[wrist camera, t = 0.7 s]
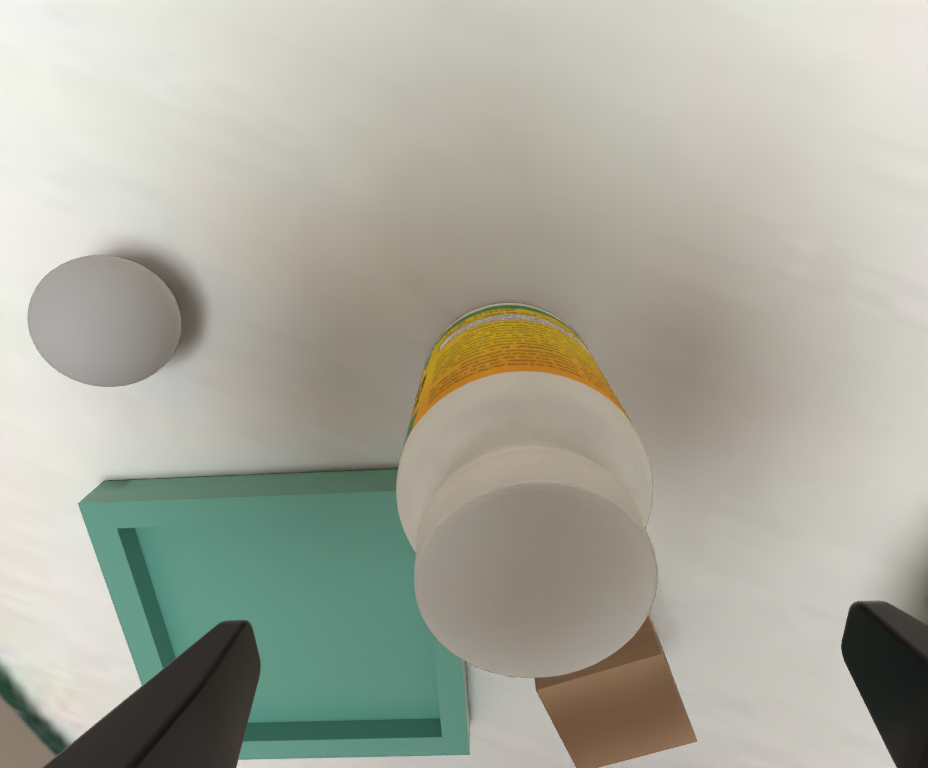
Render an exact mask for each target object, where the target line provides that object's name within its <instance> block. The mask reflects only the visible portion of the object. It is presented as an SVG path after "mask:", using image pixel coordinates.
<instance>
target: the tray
mask: <svg viewBox="0 0 928 768" xmlns="http://www.w3.org/2000/svg"><path fill="white" fill-rule="evenodd" d="M397 473H398V469H382V470H358V471H334V472H309V473H285V474H261V475H236V476H212V477H188V478H163V479H139V480H114V481H103V482H102V483H101V484H100V485H99V486H98V487H97V488H95V489H94V490H93V491H92V492H91V493H90V494H88V495H87V496H86V497H85V498H84V499H83V500H82V501H80V502H79V503H78V505H79V508H80V510H81V513H82V516H83V519H84V522H85V525H86V528H87V530H88V533H89V536H90V539H91V542H92V545H93V547H94V550H95V553H96V556H97V559H98V562H99V564H100V567H101V570H102V573H103V576H104V579H105V581H106V584H107V587H108V590H109V593H110V596H111V599H112V601H113V604H114V607H115V610H116V613H117V616H118V618H119V621H120V624H121V627H122V630H123V633H124V635H125V638H126V641H127V644H128V647H129V650H130V653H131V655H132V658H133V661H134V664H135V667H136V670H137V672H138V675H139V678H140V681H141V684H142V686H143V685H144V684H145V683H146V682H147V681H149V680H150V679H151V678H152V677H154V676H155V675H156V674H157V673H158V672H160V671H161V670H162V669H163V668H165V667H166V666H167V665H168V664H169V663H171V662H172V661H173V660H174V659H176V658H177V657H178V656H179V655H180V654H182V653H183V652H184V651H185V650H187V649H188V648H189V647H190V646H191V645H193V644H194V643H195V642H196V641H198V640H199V639H200V638H201V637H202V636H204V635H205V634H206V633H207V632H209V631H210V630H211V629H212V628H213V627H215V626H216V625H217V624H219V623H220V622H222V621H226V620H247V621H249V622H250V623H251V625H252V627H253V631H254V635H255V639H256V643H257V648H258V652H259V656H260V661H261V671H260V677H259V681H258V685H257V689H256V693H255V697H254V701H253V704H252V708H251V712H250V716H249V720H248V724H247V728H246V732H245V735H244V739H243V743H242V747H241V751H240V755H239V759H238V760H242V759H289V758H336V757H384V756H431V755H470V717H469V703H468V690H467V677H466V664H465V661H464V660H463V659H461V658H459V657H458V656H456V655H455V654H453V653H452V652H450V651H449V650H448V649H447V648H445V647H444V646H443V645H442V644H441V643H440V642H439V641H438V640H437V639H436V637H435V636H434V635H433V634H432V632H431V631H430V630H429V628H428V626H427V625H426V623H425V621H424V620H423V618H422V615H421V613H420V610H419V607H418V604H417V601H416V596H415V587H414V568H415V558H416V552H415V551H414V549H413V547H412V546H411V544H410V542H409V540H408V538H407V536H406V534H405V532H404V529H403V526H402V523H401V520H400V516H399V513H398V506H397V497H396V482H397Z"/></svg>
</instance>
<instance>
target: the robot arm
mask: <svg viewBox="0 0 928 768" xmlns="http://www.w3.org/2000/svg"><path fill="white" fill-rule="evenodd" d="M841 649H842V655H843V658H844V661H845V663H846V665H847V668H848V670H849V672H850V674H851V676H852V678H853V680H854V682H855V684H856V686H857V688H858V690H859V692H860V694H861V696H862V698H863V700H864V702H865V704H866V706H867V709H868V711H869V713H870V715H871V717H872V719H873V721H874V723H875V725H876V727H877V729H878V731H879V733H880V735H881V737H882V739H883V741H884V743H885V745H886V747H887V749H888V752H889V753H890V755H891V757H892V759H893V761H894V763H895V765H896V767H897V768H928V625H927V624H925V623H924V622H922V621H920V620H918V619H916V618H914V617H913V616H911V615H909V614H907V613H905V612H904V611H902V610H900V609H898V608H896V607H895V606H893V605H891V604H889V603H887V602H884V601H857V602H854V603H853V604H852V605H851V606H850V609H849V612H848V617H847V621H846V625H845V630H844V634H843V638H842V644H841ZM260 671H261V661H260V656H259V652H258V648H257V643H256V639H255V635H254V631H253V627H252V625H251V623H250V622H249V621H247V620H226V621H222V622H220V623H219V624H217V625H216V626H215V627H213V628H212V629H211V630H210V631H209V632H207V633H206V634H205V635H204V636H202V637H201V638H200V639H199V640H198V641H196V642H195V643H194V644H193V645H191V646H190V647H189V648H188V649H187V650H185V651H184V652H183V653H182V654H180V655H179V656H178V657H177V658H176V659H174V660H173V661H172V662H171V663H169V664H168V665H167V666H166V667H165V668H163V669H162V670H161V671H160V672H158V673H157V674H156V675H155V676H154V677H152V678H151V679H150V680H149V681H147V682H146V683H145V684H144V685H143V686H141V687H140V688H139V689H138V690H136V691H135V692H134V693H133V694H132V695H130V696H129V697H128V698H127V699H125V700H124V701H123V702H122V703H121V704H119V705H118V706H117V707H116V708H114V709H113V710H112V711H111V712H110V713H108V714H107V715H106V716H105V717H103V718H102V719H101V720H100V721H99V722H97V723H96V724H95V725H94V726H92V727H91V728H90V729H89V730H88V731H86V732H85V733H84V734H83V735H81V736H80V737H79V738H78V739H77V740H75V741H74V742H73V743H72V744H70V745H69V746H68V747H67V748H66V749H64V750H63V751H62V752H61V753H59V754H58V755H57V756H56V757H55V758H53V759H52V760H51V761H50V762H48V763H47V764H46V765H45V766H44V767H42V768H236V766H237V763H238V759H239V755H240V751H241V747H242V743H243V739H244V735H245V732H246V728H247V724H248V720H249V716H250V712H251V708H252V704H253V701H254V697H255V693H256V689H257V685H258V681H259V677H260Z"/></svg>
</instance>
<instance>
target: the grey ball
mask: <svg viewBox="0 0 928 768" xmlns="http://www.w3.org/2000/svg"><path fill="white" fill-rule="evenodd" d="M28 327H29V332H30V335H31V338H32V340H33V343H34V344H35V346H36V348H37V350H38V351H39V353H40V354H41V355H42V357H43V358H44V359H45V360H46V361H47V362H48V363H49V364H50V365H51V366H52V367H53V368H55V369H56V370H57V371H59V372H60V373H62V374H63V375H65V376H67V377H69V378H71V379H73V380H76V381H79V382H81V383H85V384H89V385H94V386H102V387H115V386H125V385H129V384H132V383H136V382H139V381H141V380H144V379H146V378H148V377H149V376H151V375H153V374H154V373H156V372H157V371H158V370H159V369H161V368H162V367H163V366H164V365H165V364H166V363H167V362H168V361H169V359H170V358H171V357H172V355H173V353H174V352H175V350H176V348H177V345H178V343H179V339H180V335H181V315H180V310H179V307H178V304H177V301H176V299H175V297H174V295H173V294H172V292H171V290H170V289H169V288H168V286H167V285H166V284H165V283H164V282H163V281H162V280H161V279H160V278H159V277H158V276H157V275H156V274H154V273H153V272H152V271H150V270H149V269H147V268H146V267H144V266H142V265H140V264H138V263H136V262H133V261H131V260H127V259H124V258H120V257H115V256H106V255H94V256H86V257H80V258H77V259H73V260H71V261H68V262H66V263H64V264H61V265H60V266H58V267H57V268H55V269H54V270H52V271H51V272H49V273H48V274H47V275H46V276H45V277H44V278H43V279H42V280H41V282H40V283H39V284H38V286H37V287H36V289H35V291H34V293H33V295H32V297H31V300H30V303H29V308H28Z"/></svg>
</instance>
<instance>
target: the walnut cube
mask: <svg viewBox="0 0 928 768" xmlns="http://www.w3.org/2000/svg"><path fill="white" fill-rule="evenodd" d="M535 685H536V691H537V693H538V695H539V697H540V699H541V701H542V703H543V705H544V707H545V709H546V710H547V712H548V714H549V716H550V718H551V720H552V722H553V724H554V726H555V728H556V730H557V732H558V733H559V735H560V737H561V739H562V741H563V743H564V745H565V747H566V749H567V751H568V753H569V755H570V757H571V758H572V760H573V762H574V764H575V766H576V768H598V767H602V766H606V765H610V764H614V763H617V762H621V761H625V760H629V759H632V758H636V757H640V756H644V755H648V754H651V753H655V752H659V751H663V750H667V749H670V748H674V747H678V746H682V745H685V744H689V743H693V742H697V739H696V737H695V734H694V731H693V729H692V726H691V723H690V721H689V718H688V715H687V713H686V710H685V707H684V705H683V702H682V699H681V697H680V694H679V691H678V689H677V686H676V683H675V681H674V678H673V675H672V673H671V670H670V667H669V665H668V662H667V659H666V657H665V654H664V652H663V649H662V646H661V644H660V641H659V639H658V636H657V634H656V631H655V629H654V626H653V624H652V621H651V619H650V616H649V614H648V616H647V618H646V620H645V621H644V623H643V624H642V626H641V627H640V629H639V630H638V631H637V632H636V634H635V635H634V636H633V637H632V638H631V639H630V640H629V641H628V642H627V643H626V644H625V645H624V646H622V647H621V648H620V649H619V650H617V651H616V652H615V653H613V654H612V655H610V656H609V657H607V658H605V659H604V660H602V661H600V662H598V663H596V664H594V665H592V666H589V667H587V668H585V669H582V670H579V671H576V672H572V673H569V674H565V675H560V676H552V677H537V678H535Z"/></svg>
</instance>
